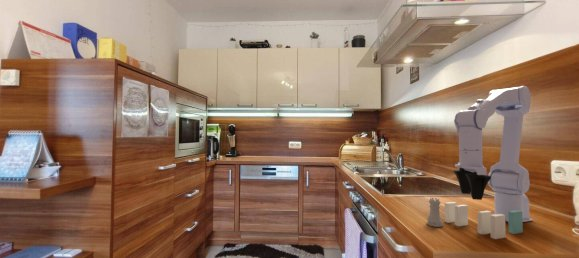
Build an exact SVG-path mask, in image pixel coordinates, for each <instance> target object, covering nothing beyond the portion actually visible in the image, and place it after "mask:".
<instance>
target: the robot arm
mask: <svg viewBox="0 0 579 258" xmlns="http://www.w3.org/2000/svg"><path fill="white" fill-rule="evenodd" d="M530 92H531V91H530V88H529V87H528V86H526V85H521V86H515V87H510V88H509V87H508V88H501V89H491V90H490V91H488V97H487V98H486V99H482V98H480V99H479V98H478V99H477V100H476V102H475V103H474V104H473V105H470V106H468V108H467V109H465V110H464V109H463V110H459V111H458V112H456V114H455V116H454V119H453V122H454V126H455V129H456V134H457V135H458V157H459V161H458V162H457V164H456V163H455V164H454V167H455V168H457V169H456V170H455V169H454V170H453V173H454V174H455V176H456V179H457V181H458V184H459V188H460V193H461V194H462V195H463V194H467V195H470V196H471V199H472V200H478V201H479V200H480V201H481V200H482V199H483V197H484V193H485V191H486V190H485V189H486V187H487V185H488V186H489V187H490V188H491V190H492V191H493V192H494V213H492V215H496V214H503V215H505V222H508V211H515V210H519V211H522V223H524V222H525V223H526V222H531V221H533V218H530V200H529V198H528V195H526V194H525V193H527V192H528V191H529V190H530V186H531V185H530V184H531V182H530V172H529V170H528V169H527V168H526V167H524V166H522V164H520V162H519V161H520V151H521V142H522V133H523V132H522V131H523V130H522V129H523V122H524V115H526V114H528V113H529V112H530V108H531V98H532V95H531V93H530ZM495 113H496V114H497V115H498V116H499V115H500V116H501V117H503V118H504V119H503V125H502V126H503V127H502V129H503V130H502V134H501V135H502V136H501V137H502V138H501V147H500V155H499V161H498V162H496V163H495V164H492V165H491V166H490V169H489V170H490V171H489V173H487V167H485V165H483V164H484V163H483V159H484V158H483V129H485V127H486V126H487V122H488V120H489V119H490V117H492V116H493V115H494V114H495ZM482 201H483V200H482Z"/></svg>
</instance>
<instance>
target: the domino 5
mask: <svg viewBox="0 0 579 258" xmlns="http://www.w3.org/2000/svg"><path fill="white" fill-rule="evenodd" d="M523 225H524V223H523V222H522V211H519V210H515V211H508V233H509V234H513V235H516V234H522V233H523V232H524V231H523V230H524V229H523V228H524V227H523Z"/></svg>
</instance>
